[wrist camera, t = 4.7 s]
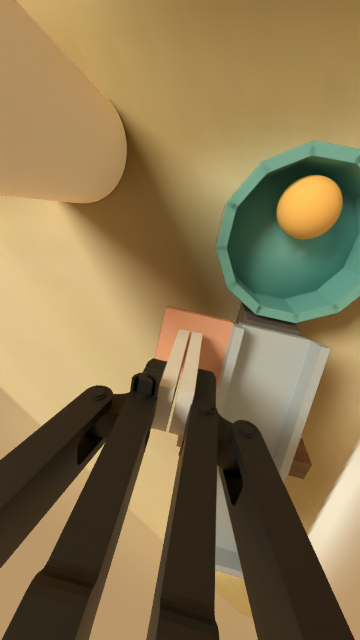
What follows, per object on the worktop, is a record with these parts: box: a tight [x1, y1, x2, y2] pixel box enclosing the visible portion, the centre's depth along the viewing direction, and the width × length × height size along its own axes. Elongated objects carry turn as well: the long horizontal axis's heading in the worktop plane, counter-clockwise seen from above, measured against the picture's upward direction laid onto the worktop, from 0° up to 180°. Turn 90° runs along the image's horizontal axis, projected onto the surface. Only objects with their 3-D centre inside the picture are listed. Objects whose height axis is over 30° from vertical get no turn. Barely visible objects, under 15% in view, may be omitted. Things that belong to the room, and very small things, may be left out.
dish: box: [216, 140, 360, 323], centre depth 19 cm, size 11×11×4 cm
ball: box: [277, 175, 343, 240], centre depth 17 cm, size 4×4×4 cm
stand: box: [177, 302, 312, 479], centre depth 23 cm, size 19×11×8 cm, turn 169°
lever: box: [155, 306, 330, 579], centre depth 20 cm, size 20×11×4 cm, turn 169°
